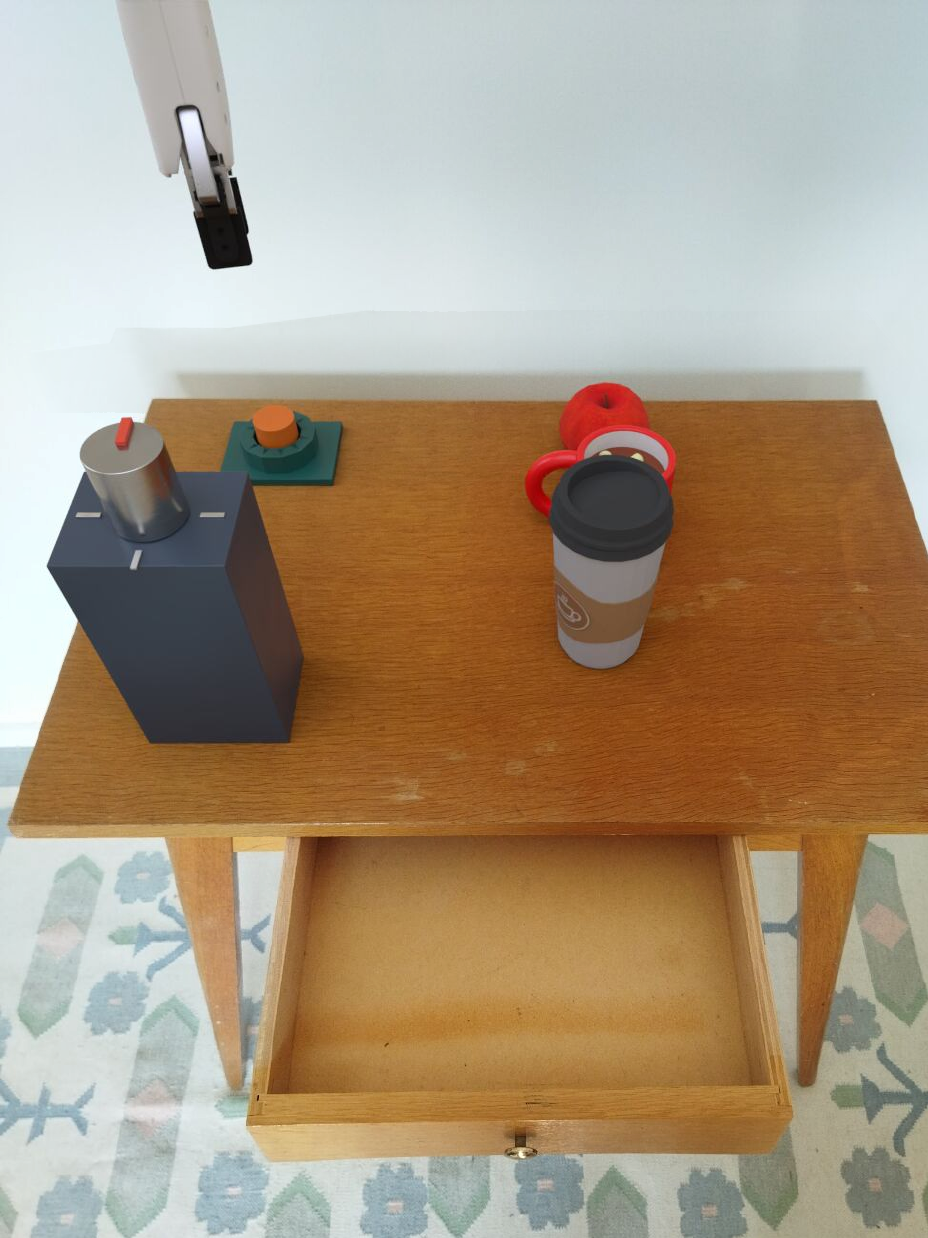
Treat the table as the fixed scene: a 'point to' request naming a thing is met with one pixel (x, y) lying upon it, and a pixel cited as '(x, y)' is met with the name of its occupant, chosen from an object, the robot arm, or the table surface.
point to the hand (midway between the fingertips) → (229, 248)
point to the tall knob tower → (187, 615)
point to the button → (275, 426)
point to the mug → (603, 442)
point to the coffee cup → (607, 555)
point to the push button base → (286, 454)
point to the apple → (600, 412)
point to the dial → (135, 480)
